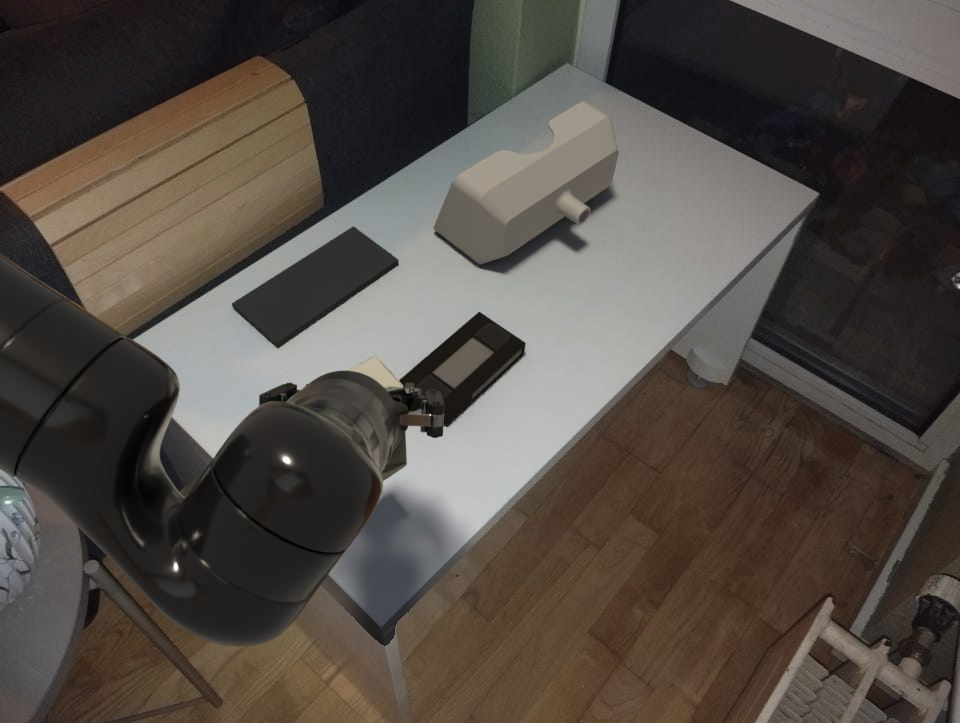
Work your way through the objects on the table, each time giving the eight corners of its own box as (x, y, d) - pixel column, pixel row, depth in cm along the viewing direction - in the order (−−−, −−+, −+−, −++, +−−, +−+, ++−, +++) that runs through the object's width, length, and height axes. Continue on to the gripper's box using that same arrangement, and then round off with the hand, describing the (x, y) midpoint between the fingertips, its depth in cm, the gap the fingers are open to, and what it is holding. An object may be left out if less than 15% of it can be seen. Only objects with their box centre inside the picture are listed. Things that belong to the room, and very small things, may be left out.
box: (364, 495, 71) (351, 418, 61) (338, 462, 73) (321, 383, 62) (410, 464, 73) (405, 385, 63) (384, 433, 75) (375, 352, 65)
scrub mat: (277, 348, 93) (276, 343, 92) (233, 308, 96) (231, 303, 96) (398, 264, 102) (398, 259, 101) (354, 231, 106) (353, 226, 105)
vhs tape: (525, 353, 94) (526, 343, 92) (446, 427, 87) (446, 417, 85) (478, 321, 97) (479, 311, 95) (398, 390, 90) (397, 381, 88)
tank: (513, 296, 99) (521, 224, 89) (431, 232, 106) (429, 159, 96) (634, 209, 110) (653, 136, 100) (553, 156, 117) (563, 83, 107)
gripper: (448, 385, 49) (454, 353, 66) (224, 374, 49) (287, 345, 66) (442, 497, 50) (450, 438, 67) (223, 487, 50) (285, 430, 67)
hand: (369, 392), depth 66 cm, fingers closed on box, 6 cm apart
